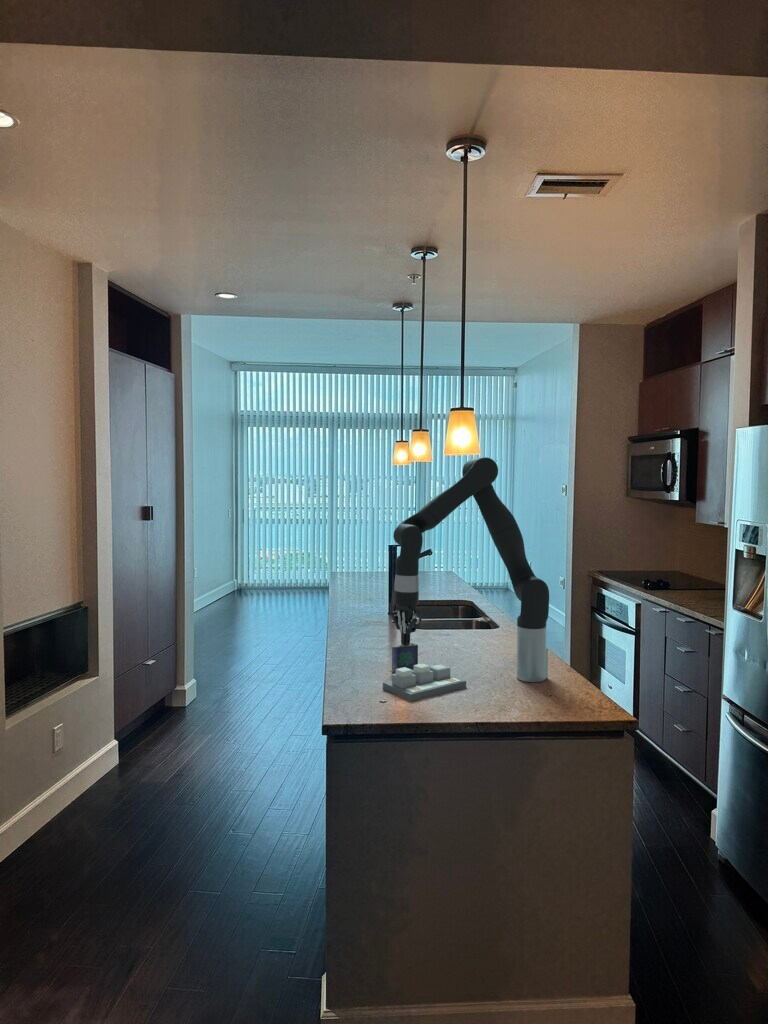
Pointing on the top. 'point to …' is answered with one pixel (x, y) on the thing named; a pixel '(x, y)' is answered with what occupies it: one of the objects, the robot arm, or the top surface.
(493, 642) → the top surface
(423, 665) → the button middle
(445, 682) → the board
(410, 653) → the flask
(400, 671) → the button
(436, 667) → the button
